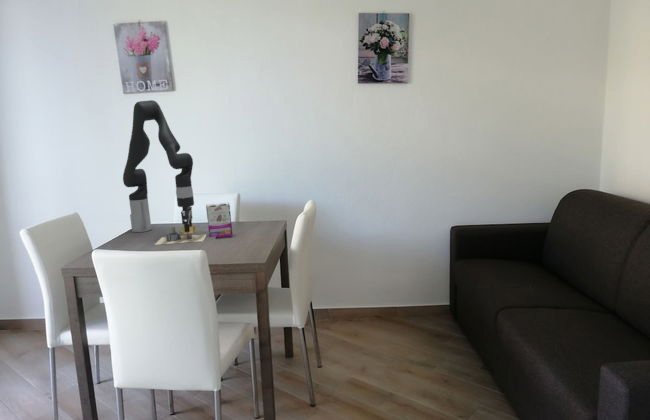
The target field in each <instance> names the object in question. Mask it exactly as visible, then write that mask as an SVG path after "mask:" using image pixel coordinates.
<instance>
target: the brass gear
mask: <svg viewBox="0 0 650 420" xmlns="http://www.w3.org/2000/svg"><path fill="white" fill-rule="evenodd" d="M189 226H191V227H189V229H190V232H185V230H184V225H181V226H180V228H181V229H180V230H181V234H184V235H187V234H188V233H189V234H190V233H191V234H193V233H196V232H197V228H196V227H197V226H196V224H192V225H189Z"/></svg>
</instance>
